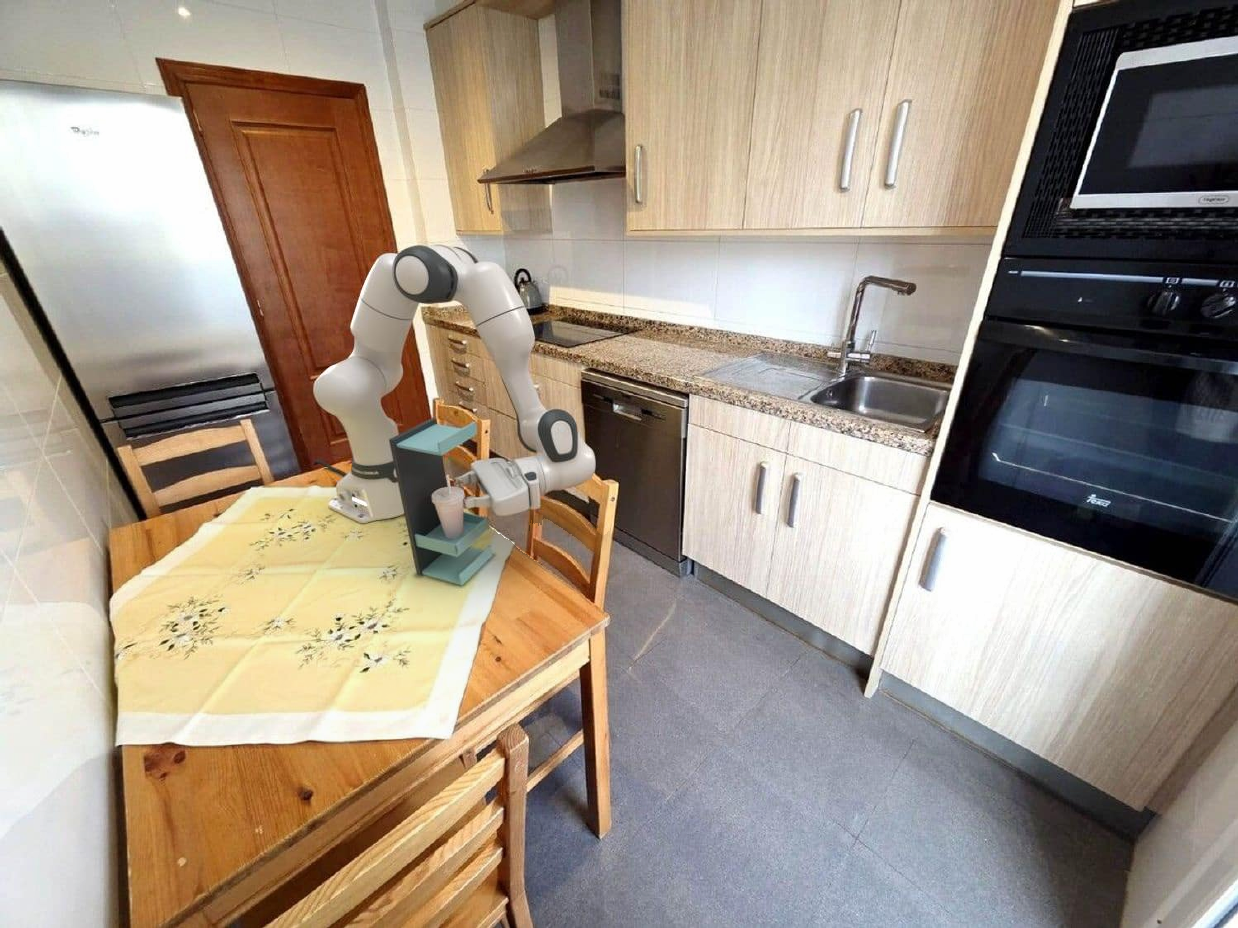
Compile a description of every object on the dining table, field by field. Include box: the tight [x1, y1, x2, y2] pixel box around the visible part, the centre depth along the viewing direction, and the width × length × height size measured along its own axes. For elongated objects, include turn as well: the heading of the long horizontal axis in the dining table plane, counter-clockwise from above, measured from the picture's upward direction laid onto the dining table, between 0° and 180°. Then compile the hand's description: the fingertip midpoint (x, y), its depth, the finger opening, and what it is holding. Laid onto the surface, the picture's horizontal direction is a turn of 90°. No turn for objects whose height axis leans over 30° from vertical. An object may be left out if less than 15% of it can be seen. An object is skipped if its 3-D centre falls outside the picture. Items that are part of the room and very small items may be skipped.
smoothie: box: [431, 473, 466, 539], centre depth 102 cm, size 6×6×14 cm
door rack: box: [389, 417, 493, 587], centre depth 102 cm, size 11×12×32 cm
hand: (459, 492), depth 102 cm, fingers open, 8 cm apart
